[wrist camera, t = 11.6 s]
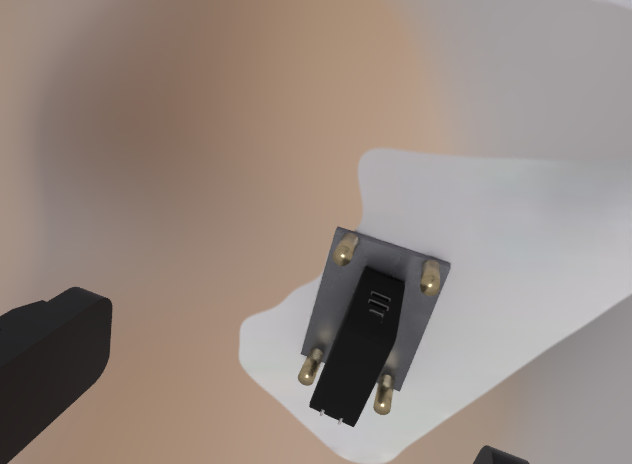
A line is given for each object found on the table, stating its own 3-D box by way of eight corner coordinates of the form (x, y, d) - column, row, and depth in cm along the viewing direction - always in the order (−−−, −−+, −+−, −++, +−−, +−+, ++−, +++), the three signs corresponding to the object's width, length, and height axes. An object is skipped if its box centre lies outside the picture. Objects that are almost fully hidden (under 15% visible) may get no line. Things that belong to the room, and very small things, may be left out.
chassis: (338, 224, 43) (326, 243, 39) (451, 261, 42) (452, 285, 37) (303, 350, 49) (288, 379, 45) (400, 386, 48) (395, 420, 43)
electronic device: (407, 281, 42) (397, 340, 33) (370, 360, 47) (352, 432, 37) (365, 264, 43) (344, 318, 34) (332, 344, 47) (306, 411, 38)
